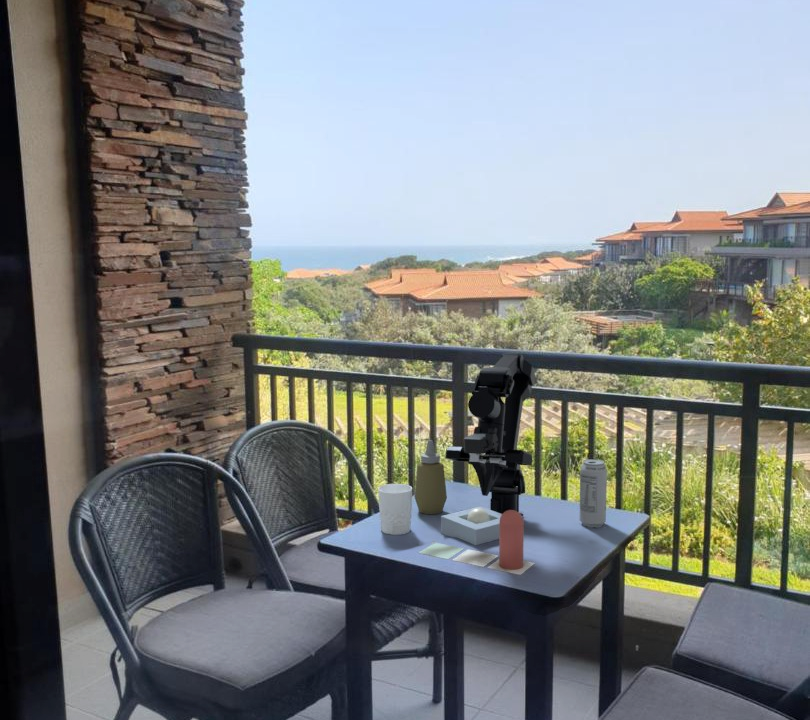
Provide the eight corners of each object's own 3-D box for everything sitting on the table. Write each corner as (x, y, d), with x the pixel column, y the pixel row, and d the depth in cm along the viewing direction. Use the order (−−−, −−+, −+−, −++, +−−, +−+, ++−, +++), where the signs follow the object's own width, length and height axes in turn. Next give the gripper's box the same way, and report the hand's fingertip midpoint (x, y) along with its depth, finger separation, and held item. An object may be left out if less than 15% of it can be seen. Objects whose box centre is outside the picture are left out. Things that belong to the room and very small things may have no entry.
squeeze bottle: (407, 510, 198) (407, 439, 196) (432, 504, 203) (432, 435, 201) (428, 518, 192) (427, 445, 190) (453, 512, 197) (453, 440, 195)
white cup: (409, 537, 179) (408, 493, 178) (375, 535, 181) (374, 492, 180) (415, 525, 187) (415, 484, 186) (383, 523, 189) (382, 482, 188)
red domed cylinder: (511, 559, 164) (511, 505, 163) (528, 566, 160) (528, 511, 159) (494, 564, 161) (494, 509, 160) (510, 571, 157) (511, 515, 156)
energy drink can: (611, 525, 186) (612, 463, 184) (590, 529, 183) (591, 466, 181) (594, 518, 191) (595, 457, 189) (574, 522, 188) (575, 460, 187)
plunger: (479, 527, 184) (479, 504, 183) (493, 532, 180) (494, 509, 179) (462, 531, 181) (462, 508, 180) (477, 537, 177) (477, 513, 176)
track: (539, 565, 162) (539, 562, 162) (523, 579, 155) (523, 576, 155) (433, 543, 175) (433, 541, 175) (413, 555, 168) (413, 553, 168)
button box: (480, 522, 189) (480, 506, 188) (516, 536, 179) (516, 518, 179) (441, 533, 182) (441, 516, 181) (475, 547, 172) (475, 529, 172)
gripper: (436, 417, 175) (429, 489, 172) (515, 420, 165) (509, 495, 162) (459, 425, 184) (453, 493, 181) (535, 428, 174) (530, 500, 171)
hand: (484, 495), depth 174 cm, fingers closed
